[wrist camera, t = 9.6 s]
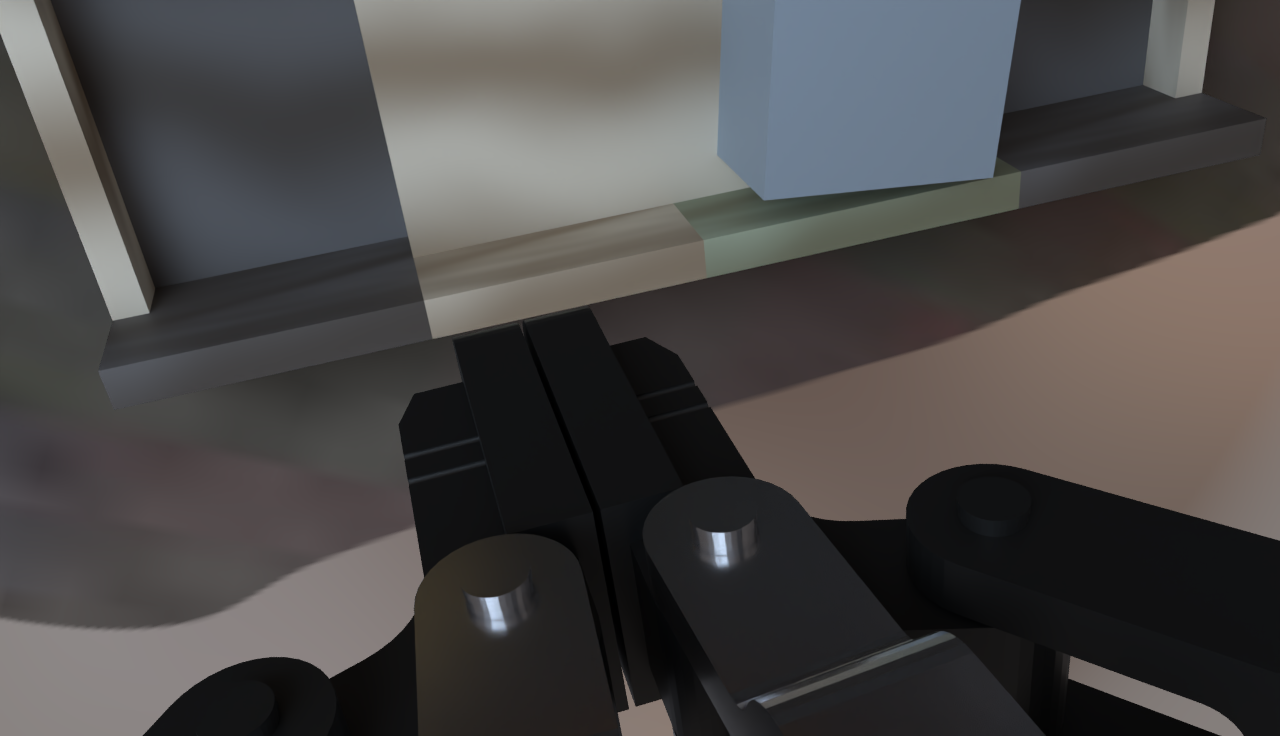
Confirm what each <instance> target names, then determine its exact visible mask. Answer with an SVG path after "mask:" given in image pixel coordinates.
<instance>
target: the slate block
mask: <svg viewBox="0 0 1280 736" xmlns="http://www.w3.org/2000/svg"><path fill="white" fill-rule="evenodd" d="M1020 3H1021V0H722V28H721V57H720V86H719V115H718V143H717V155H718V156H719V157H720V158H721V159H722V160H723V161H724V162H725V163H726V164H727V165H728V166H729V167H730V168H731V169H732V170H733V171H734V172H735V173H736V174H737V175H738V176H739V177H740V178H741V179H742V180H743V181H744V182H745V183H746V184H747V185H748V186H750V187H751V188H752V189H753V190H754V191H755V192H756V193H757V194H758V195H759V196H760V197H761V198H762V199H763V200H774V199H784V198H794V197H805V196H815V195H825V194H835V193H845V192H855V191H865V190H875V189H885V188H895V187H905V186H915V185H925V184H935V183H945V182H955V181H965V180H975V179H986V178H993V175H994V168H995V162H996V156H997V149H998V143H999V137H1000V130H1001V124H1002V118H1003V111H1004V105H1005V99H1006V92H1007V86H1008V80H1009V73H1010V67H1011V60H1012V54H1013V48H1014V41H1015V35H1016V29H1017V22H1018V16H1019V10H1020Z"/></svg>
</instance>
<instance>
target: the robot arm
mask: <svg viewBox="0 0 1280 736" xmlns="http://www.w3.org/2000/svg"><path fill="white" fill-rule="evenodd" d="M523 332H524V336H523V333H522V331H521V328H520V326H519V324H518V323H512V324H508V325H504V326H500V327H496V328H491V329H487V330H483V331H479V332H475V333H470V334H466V335H462V336H458V337H454V338H452V340H453V345H454V350H455V354H456V358H457V362H458V366H459V371H460V375H461V379H462V382H461V383H457V384H453V385H449V386H445V387H441V388H437V389H433V390H428V391H424V392H420V393H416V394H414V395H413V397H412V399H411V401H410V403H409V405H408V407H407V409H406V411H405V413H404V415H403V417H402V419H401V421H400V423H399V430H400V436H401V442H402V448H403V454H404V458H405V466H406V472H407V478H408V482H409V489H410V495H411V501H412V507H413V513H414V519H415V525H416V531H417V537H418V543H419V549H420V555H421V561H422V567H423V573H424V579H423V581H422V582H421V584H420V586H419V588H418V591H417V593H416V596H415V604H414V616H413V618H412V619H411V620H410V622H409V623H408V624H407V626H406V627H405V628H404V629H403V630H402V631H401V632H400V633H399V634H398V635H397V636H396V637H395V638H394V639H393V640H392V641H391V642H390V643H388V644H387V645H386V646H384V647H383V648H382V649H380V650H379V651H378V652H376V653H375V654H373V655H371V656H369V657H368V658H366V659H365V660H363V661H361V662H360V663H357V664H356V665H354V666H352V667H350V668H348V669H346V670H345V671H343V672H341V673H339V674H337V675H335V676H334V677H332V678H330V679H329V678H328V677H327V676H326V675H325V674H324V673H323V672H322V671H321V670H320V669H319V668H317V667H315V666H314V665H312V664H310V663H308V662H305V661H302V660H299V659H293V658H287V657H269V658H261V659H255V660H250V661H246V662H242V663H239V664H236V665H233V666H231V667H228V668H225V669H223V670H221V671H219V672H217V673H215V674H213V675H211V676H209V677H207V678H206V679H204V680H202V681H201V682H199V683H198V684H196V685H194V686H193V687H192V688H190V689H189V690H188V691H187V692H185V693H184V694H183V695H182V696H180V698H178V699H177V700H176V701H175V702H174V703H173V704H172V705H171V706H170V707H169V708H168V709H167V710H166V711H165V712H164V713H163V715H162V716H161V717H160V718H159V719H158V720H157V721H156V722H155V723H154V724H153V725H152V726H151V727H150V728H149V730H148V731H147V732H146V733H145V734H144V735H143V736H622V733H621V728H620V723H619V718H618V712H621V711H625V710H628V709H629V707H628V701H627V696H626V691H625V685H624V679H623V674H622V670H623V673H624V675H625V678H626V681H627V684H628V686H629V689H630V692H631V695H632V698H633V700H634V703H635V706H639V705H643V704H646V703H649V702H653V701H656V700H659V699H662V700H663V703H664V705H665V708H666V710H667V713H668V716H669V718H670V721H671V723H672V727H673V734H674V736H1220V735H1217V734H1214V733H1212V732H1209V731H1206V730H1204V729H1201V728H1198V727H1195V726H1193V725H1190V724H1188V723H1185V722H1182V721H1180V720H1177V719H1174V718H1172V717H1169V716H1166V715H1164V714H1161V713H1158V712H1155V711H1153V710H1151V709H1148V708H1145V707H1143V706H1140V705H1137V704H1135V703H1132V702H1129V701H1126V700H1124V699H1121V698H1119V697H1116V696H1113V695H1111V694H1108V693H1105V692H1103V691H1100V690H1097V689H1095V688H1092V687H1089V686H1087V685H1084V684H1081V683H1079V682H1076V681H1073V680H1071V679H1068V674H1069V663H1070V656H1073V657H1076V658H1078V659H1081V660H1084V661H1087V662H1089V663H1092V664H1095V665H1098V666H1101V667H1103V668H1106V669H1108V670H1111V671H1114V672H1117V673H1119V674H1122V675H1125V676H1128V677H1130V678H1133V679H1136V680H1139V681H1141V682H1144V683H1147V684H1150V685H1153V686H1155V687H1158V688H1161V689H1163V690H1166V691H1169V692H1171V693H1174V694H1177V695H1180V696H1182V697H1185V698H1188V699H1191V700H1193V701H1196V702H1199V703H1202V704H1204V705H1206V706H1209V707H1211V708H1213V709H1215V710H1216V711H1218V712H1220V713H1221V714H1223V715H1224V716H1225V717H1227V718H1228V719H1229V720H1230V721H1232V722H1233V723H1234V724H1235V725H1236V726H1237V728H1238V729H1239V730H1240V731H1241V732H1242V734H1243V735H1244V736H1280V541H1278V540H1275V539H1272V538H1268V537H1264V536H1261V535H1257V534H1253V533H1250V532H1247V531H1243V530H1239V529H1236V528H1232V527H1229V526H1225V525H1222V524H1218V523H1215V522H1211V521H1207V520H1204V519H1200V518H1197V517H1193V516H1190V515H1186V514H1182V513H1179V512H1175V511H1172V510H1168V509H1164V508H1161V507H1157V506H1154V505H1150V504H1146V503H1143V502H1140V501H1136V500H1133V499H1129V498H1125V497H1122V496H1118V495H1115V494H1111V493H1108V492H1104V491H1101V490H1097V489H1093V488H1090V487H1086V486H1082V485H1079V484H1076V483H1072V482H1068V481H1064V480H1061V479H1058V478H1054V477H1050V476H1047V475H1043V474H1040V473H1036V472H1033V471H1029V470H1026V469H1021V468H1017V467H1012V466H1006V465H998V464H976V465H965V466H960V467H955V468H951V469H948V470H945V471H942V472H940V473H937V474H935V475H933V476H931V477H930V478H928V479H927V480H925V481H924V482H922V483H921V484H920V485H919V486H918V487H917V488H916V489H915V490H914V491H913V493H912V495H911V496H910V498H909V500H908V504H907V507H906V519H894V520H872V521H833V520H824V519H819V518H814V517H810V516H809V515H808V513H807V512H806V511H805V509H804V508H803V507H802V506H801V505H800V503H799V502H798V501H797V500H796V499H795V498H794V497H793V496H792V495H791V494H789V493H788V492H786V491H785V490H783V489H782V488H780V487H778V486H776V485H774V484H772V483H769V482H765V481H762V480H759V479H755V478H754V476H753V474H752V473H751V471H750V470H749V468H748V466H747V465H746V463H745V462H744V460H743V459H742V457H741V455H740V454H739V452H738V450H737V449H736V447H735V446H734V444H733V442H732V441H731V439H730V438H729V436H728V434H727V433H726V431H725V430H724V428H723V426H722V425H721V423H720V422H719V420H718V418H717V417H716V415H715V414H714V412H713V410H712V409H711V407H708V404H707V401H706V399H705V398H704V396H703V394H702V393H701V391H700V390H699V388H698V386H695V384H694V380H693V378H692V377H691V375H690V374H689V372H688V370H687V369H686V367H685V366H684V364H683V362H682V361H681V359H680V358H679V356H678V355H677V354H675V353H673V352H672V351H670V350H668V349H666V348H664V347H662V346H661V345H659V344H657V343H655V342H653V341H652V340H650V339H648V338H646V337H644V338H640V339H636V340H632V341H628V342H624V343H619V344H615V345H611V346H610V345H609V343H608V341H607V339H606V338H605V336H604V334H603V332H602V330H601V328H600V326H599V324H598V322H597V320H596V319H595V317H594V315H593V313H592V311H591V309H590V308H589V306H583V307H579V308H574V309H570V310H566V311H562V312H558V313H553V314H549V315H545V316H541V317H537V318H532V319H528V320H524V321H523ZM621 667H622V668H621Z"/></svg>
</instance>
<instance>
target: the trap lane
mask: <svg viewBox="0 0 1280 736" xmlns="http://www.w3.org/2000/svg"><path fill="white" fill-rule="evenodd" d="M1214 4H1215V0H1021V3H1020V10H1019V16H1018V22H1017V29H1016V35H1015V41H1014V48H1013V54H1012V60H1011V67H1010V73H1009V80H1008V86H1007V92H1006V99H1005V105H1004V111H1003V118H1002V124H1001V130H1000V137H999V143H998V149H997V156H996V162H995V168H994V175H993V178H986V179H975V180H965V181H955V182H945V183H935V184H925V185H915V186H905V187H895V188H885V189H875V190H865V191H855V192H845V193H835V194H825V195H815V196H805V197H794V198H784V199H774V200H763V199H762V198H761V197H760V196H759V195H758V194H757V193H756V192H755V191H754V190H753V189H752V188H751V187H750V186H748V185H747V184H746V183H745V182H744V181H743V180H742V179H741V178H740V177H739V176H738V175H737V174H736V173H735V172H734V171H733V170H732V169H731V168H730V167H729V166H728V165H727V164H726V163H725V162H724V161H723V160H722V159H721V158H720V157H719V156H718V155H717V143H718V115H719V86H720V57H721V28H722V0H0V34H1V36H2V39H3V41H4V44H5V46H6V49H7V51H8V54H9V57H10V59H11V62H12V64H13V67H14V69H15V72H16V74H17V77H18V80H19V82H20V85H21V87H22V90H23V92H24V95H25V97H26V100H27V103H28V105H29V108H30V110H31V113H32V115H33V118H34V121H35V123H36V126H37V128H38V131H39V133H40V136H41V138H42V141H43V144H44V146H45V149H46V151H47V154H48V156H49V159H50V161H51V164H52V167H53V169H54V172H55V174H56V177H57V179H58V182H59V184H60V187H61V190H62V192H63V195H64V197H65V200H66V202H67V205H68V208H69V210H70V213H71V215H72V218H73V220H74V223H75V225H76V228H77V231H78V233H79V236H80V238H81V241H82V243H83V246H84V248H85V251H86V254H87V256H88V259H89V261H90V264H91V266H92V269H93V271H94V274H95V277H96V279H97V282H98V284H99V287H100V289H101V292H102V295H103V297H104V300H105V302H106V305H107V307H108V310H109V312H110V315H111V318H112V320H113V322H112V325H111V329H110V332H109V336H108V339H107V343H106V346H105V349H104V353H103V356H102V360H101V363H100V367H99V370H98V372H99V374H100V377H101V379H102V382H103V384H104V386H105V389H106V391H107V394H108V396H109V399H110V401H111V404H112V406H113V408H114V410H116V409H120V408H125V407H129V406H134V405H138V404H143V403H147V402H152V401H156V400H161V399H165V398H170V397H174V396H179V395H183V394H188V393H192V392H197V391H201V390H206V389H210V388H215V387H219V386H224V385H228V384H233V383H237V382H242V381H246V380H251V379H255V378H260V377H264V376H269V375H273V374H278V373H282V372H287V371H291V370H296V369H300V368H305V367H309V366H314V365H318V364H323V363H327V362H332V361H336V360H341V359H345V358H350V357H354V356H359V355H363V354H368V353H372V352H377V351H381V350H386V349H390V348H395V347H399V346H404V345H408V344H413V343H417V342H422V341H426V340H431V339H435V338H439V337H444V336H448V335H453V334H457V333H462V332H466V331H471V330H475V329H480V328H484V327H489V326H493V325H498V324H502V323H507V322H511V321H516V320H520V319H525V318H529V317H534V316H538V315H543V314H547V313H552V312H556V311H561V310H565V309H570V308H574V307H579V306H583V305H588V304H592V303H597V302H601V301H606V300H610V299H615V298H619V297H624V296H628V295H633V294H637V293H642V292H646V291H651V290H655V289H660V288H664V287H669V286H673V285H678V284H682V283H687V282H691V281H696V280H700V279H705V278H709V277H714V276H718V275H723V274H727V273H732V272H736V271H741V270H745V269H750V268H754V267H759V266H763V265H768V264H772V263H777V262H781V261H786V260H790V259H795V258H799V257H804V256H808V255H813V254H817V253H822V252H826V251H831V250H835V249H840V248H844V247H849V246H853V245H858V244H862V243H867V242H871V241H876V240H880V239H885V238H889V237H894V236H898V235H903V234H907V233H911V232H916V231H920V230H925V229H929V228H934V227H938V226H943V225H947V224H952V223H956V222H961V221H965V220H970V219H974V218H979V217H983V216H988V215H992V214H997V213H1001V212H1006V211H1010V210H1015V209H1019V208H1024V207H1028V206H1033V205H1037V204H1042V203H1046V202H1051V201H1055V200H1060V199H1064V198H1069V197H1073V196H1078V195H1082V194H1087V193H1091V192H1096V191H1100V190H1105V189H1109V188H1114V187H1118V186H1123V185H1127V184H1132V183H1136V182H1141V181H1145V180H1150V179H1154V178H1159V177H1163V176H1168V175H1172V174H1177V173H1181V172H1186V171H1190V170H1195V169H1199V168H1204V167H1208V166H1213V165H1217V164H1222V163H1226V162H1231V161H1235V160H1240V159H1244V158H1249V157H1253V156H1258V155H1260V154H1261V148H1262V142H1263V137H1264V131H1265V125H1266V120H1267V118H1264V117H1262V116H1259V115H1257V114H1254V113H1252V112H1249V111H1247V110H1244V109H1242V108H1239V107H1237V106H1234V105H1231V104H1229V103H1226V102H1224V101H1221V100H1219V99H1216V98H1214V97H1211V96H1209V95H1206V94H1204V93H1202V87H1203V80H1204V73H1205V66H1206V59H1207V52H1208V46H1209V39H1210V32H1211V25H1212V18H1213V11H1214Z"/></svg>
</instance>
